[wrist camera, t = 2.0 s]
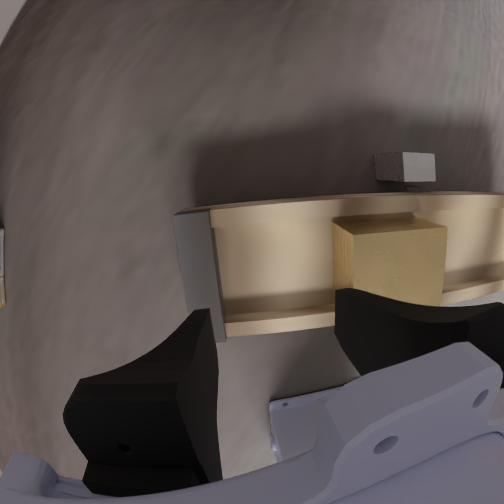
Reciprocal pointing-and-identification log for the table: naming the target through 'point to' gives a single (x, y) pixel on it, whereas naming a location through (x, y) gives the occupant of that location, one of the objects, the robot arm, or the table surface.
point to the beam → (320, 254)
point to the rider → (391, 258)
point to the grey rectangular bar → (405, 167)
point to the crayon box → (2, 270)
